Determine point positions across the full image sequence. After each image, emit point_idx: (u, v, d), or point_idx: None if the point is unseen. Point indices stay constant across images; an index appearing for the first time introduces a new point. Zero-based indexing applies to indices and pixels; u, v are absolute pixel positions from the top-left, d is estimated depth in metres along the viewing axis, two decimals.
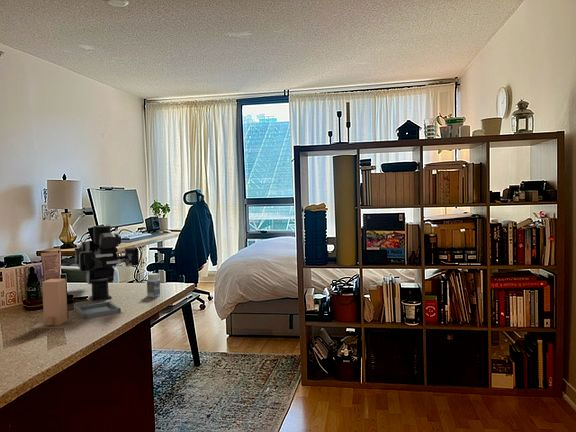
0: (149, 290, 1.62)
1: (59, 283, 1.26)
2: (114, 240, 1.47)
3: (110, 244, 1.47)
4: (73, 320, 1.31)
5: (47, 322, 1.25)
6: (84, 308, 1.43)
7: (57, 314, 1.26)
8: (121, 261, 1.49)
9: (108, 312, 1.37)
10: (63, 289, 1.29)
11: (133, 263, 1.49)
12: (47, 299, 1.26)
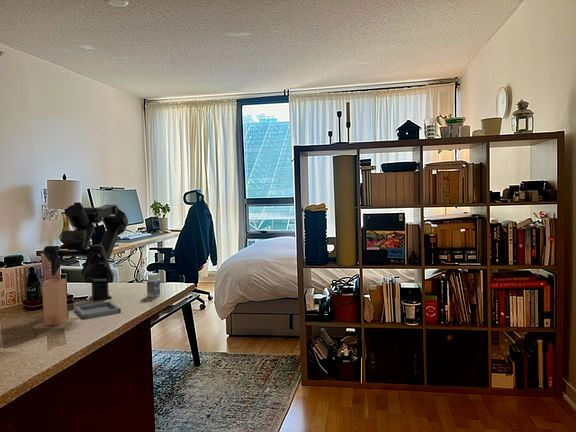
0: (149, 290, 1.62)
1: (59, 283, 1.26)
2: None
3: (73, 241, 1.39)
4: (73, 320, 1.31)
5: (47, 322, 1.25)
6: (84, 308, 1.43)
7: (57, 314, 1.26)
8: None
9: (108, 312, 1.37)
10: (63, 289, 1.29)
11: (98, 261, 1.42)
12: (47, 299, 1.26)
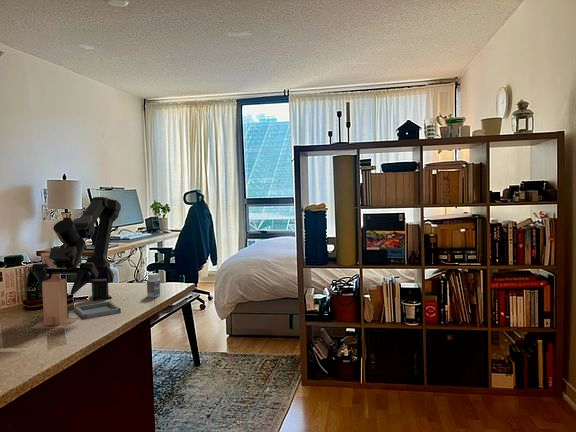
0: (149, 290, 1.62)
1: (59, 283, 1.26)
2: (64, 258, 1.31)
3: (62, 259, 1.32)
4: (73, 320, 1.31)
5: (47, 322, 1.25)
6: (84, 308, 1.43)
7: (57, 314, 1.26)
8: None
9: (108, 312, 1.37)
10: (63, 289, 1.29)
11: (89, 280, 1.35)
12: (47, 299, 1.26)
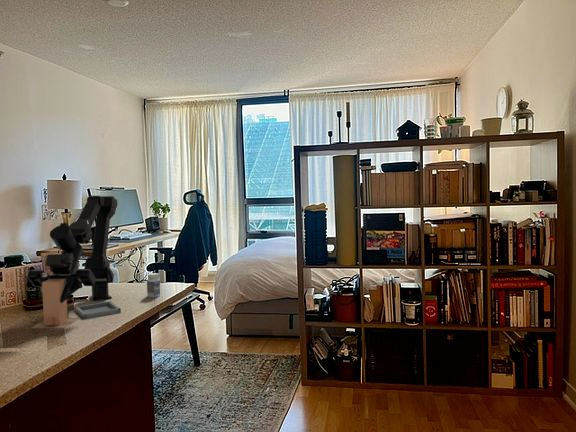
0: (149, 290, 1.62)
1: (59, 283, 1.26)
2: (61, 264, 1.28)
3: (59, 266, 1.30)
4: (73, 320, 1.31)
5: (47, 322, 1.25)
6: (84, 308, 1.43)
7: (57, 314, 1.26)
8: None
9: (108, 312, 1.37)
10: (63, 289, 1.29)
11: (79, 286, 1.33)
12: (47, 299, 1.26)
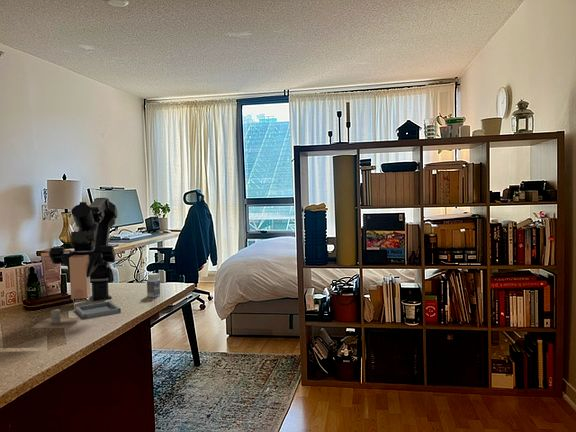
0: (149, 290, 1.62)
1: (86, 258, 1.33)
2: (85, 241, 1.35)
3: (82, 242, 1.36)
4: (73, 320, 1.31)
5: (76, 295, 1.31)
6: (84, 308, 1.43)
7: (84, 288, 1.33)
8: None
9: (108, 312, 1.37)
10: (88, 264, 1.35)
11: (100, 262, 1.40)
12: (74, 274, 1.32)
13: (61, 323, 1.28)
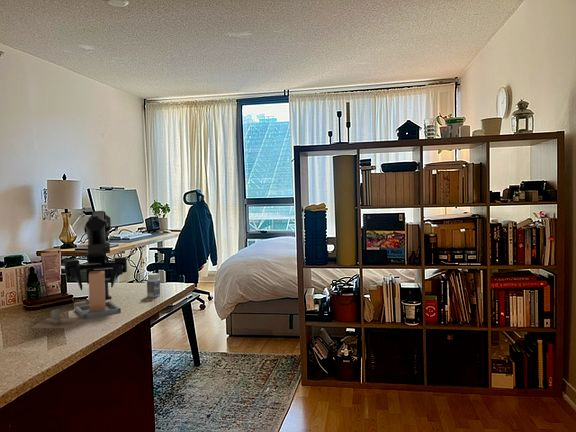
0: (149, 290, 1.62)
1: (104, 274, 1.39)
2: (101, 253, 1.41)
3: (98, 255, 1.41)
4: (73, 320, 1.31)
5: (96, 310, 1.37)
6: (84, 308, 1.43)
7: (103, 302, 1.39)
8: (109, 268, 1.46)
9: (108, 312, 1.37)
10: None
11: (120, 273, 1.47)
12: (94, 289, 1.38)
13: (61, 323, 1.28)
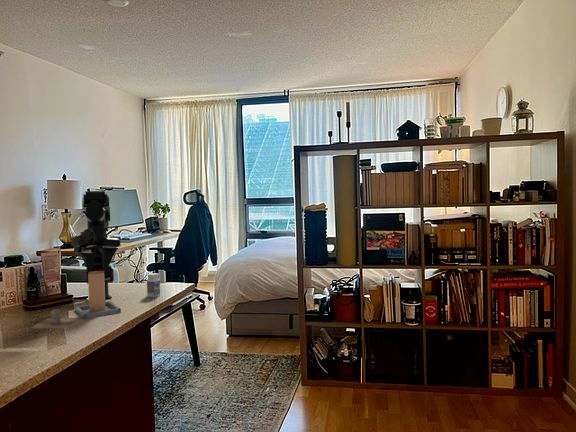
0: (149, 290, 1.62)
1: None
2: None
3: None
4: (73, 320, 1.31)
5: (96, 310, 1.37)
6: (84, 308, 1.43)
7: (103, 302, 1.39)
8: None
9: (108, 312, 1.37)
10: (104, 280, 1.41)
11: (115, 249, 1.46)
12: (93, 289, 1.38)
13: (61, 323, 1.28)
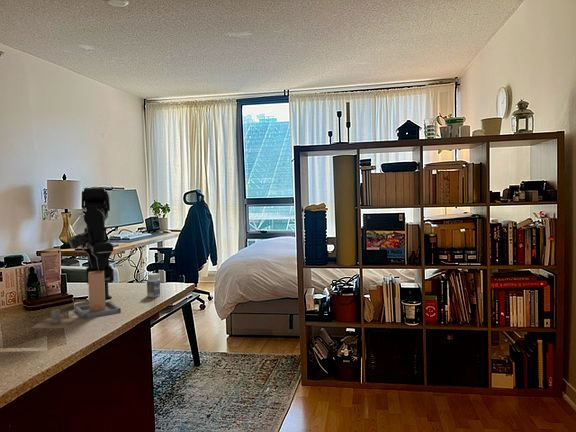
0: (149, 290, 1.62)
1: None
2: None
3: None
4: (73, 320, 1.31)
5: (96, 310, 1.37)
6: (84, 308, 1.43)
7: (103, 302, 1.39)
8: None
9: (108, 312, 1.37)
10: (104, 280, 1.41)
11: None
12: (93, 289, 1.38)
13: (61, 323, 1.28)
